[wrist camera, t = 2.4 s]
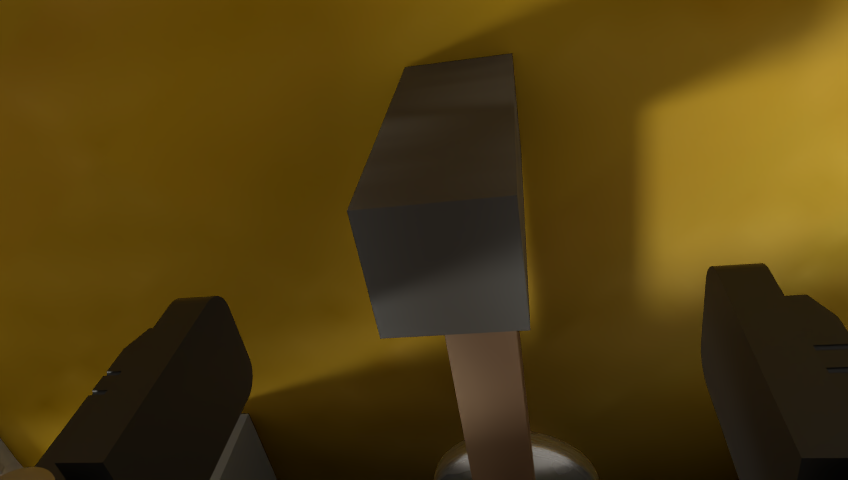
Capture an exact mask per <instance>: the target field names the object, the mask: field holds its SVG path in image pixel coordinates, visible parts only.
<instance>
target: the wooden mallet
mask: <svg viewBox="0 0 848 480" xmlns="http://www.w3.org/2000/svg"><path fill="white" fill-rule="evenodd" d="M347 213H348V216H349V220H350V224H351V228H352V232H353V236H354V239H355V243H356V247H357V251H358V255H359V259H360V262H361V266H362V270H363V274H364V278H365V282H366V285H367V289H368V293H369V297H370V301H371V305H372V308H373V312H374V316H375V320H376V324H377V328H378V332H379V335H380V339H381V338H399V337H417V336H436V335H445V339H446V344H447V350H448V355H449V360H450V365H451V371H452V376H453V381H454V387H455V392H456V397H457V402H458V408H459V413H460V418H461V423H462V429H463V434H464V439H465V444H466V450H467V455H468V460H469V465H470V471H471V476H472V480H536V479H535V470H534V461H533V452H532V443H531V434H530V424H529V415H528V406H527V397H526V388H525V379H524V370H523V361H522V351H521V342H520V333H519V331H527V330H530V313H529V294H528V275H527V255H526V236H525V217H524V197H523V178H522V159H521V145H520V134H519V123H518V112H517V101H516V90H515V79H514V68H513V57H512V54H504V55H496V56H488V57H481V58H473V59H465V60H458V61H450V62H442V63H435V64H427V65H419V66H411V67H405V69H404V71H403V74H402V76H401V79H400V81H399V83H398V86H397V88H396V91H395V93H394V96H393V98H392V101H391V103H390V106H389V108H388V111H387V113H386V116H385V118H384V121H383V123H382V126H381V128H380V130H379V133H378V135H377V138H376V140H375V143H374V145H373V148H372V150H371V153H370V155H369V158H368V160H367V163H366V165H365V168H364V170H363V173H362V175H361V177H360V180H359V182H358V185H357V187H356V190H355V192H354V195H353V197H352V200H351V202H350V205H349V207H348V210H347Z"/></svg>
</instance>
